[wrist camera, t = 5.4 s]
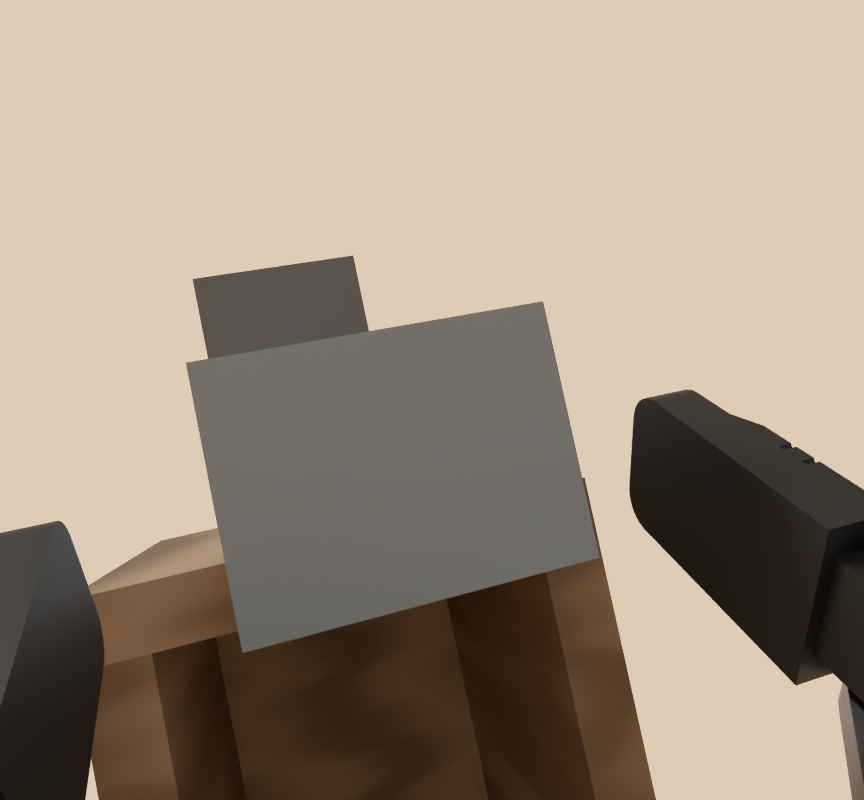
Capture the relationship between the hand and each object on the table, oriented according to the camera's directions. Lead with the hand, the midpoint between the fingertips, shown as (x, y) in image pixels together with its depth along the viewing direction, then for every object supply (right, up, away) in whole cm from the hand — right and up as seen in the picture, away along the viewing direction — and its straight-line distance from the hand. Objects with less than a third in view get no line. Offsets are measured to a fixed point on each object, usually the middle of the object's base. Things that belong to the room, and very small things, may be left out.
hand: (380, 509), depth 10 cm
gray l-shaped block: (-2, -2, +8) cm, 9 cm away
